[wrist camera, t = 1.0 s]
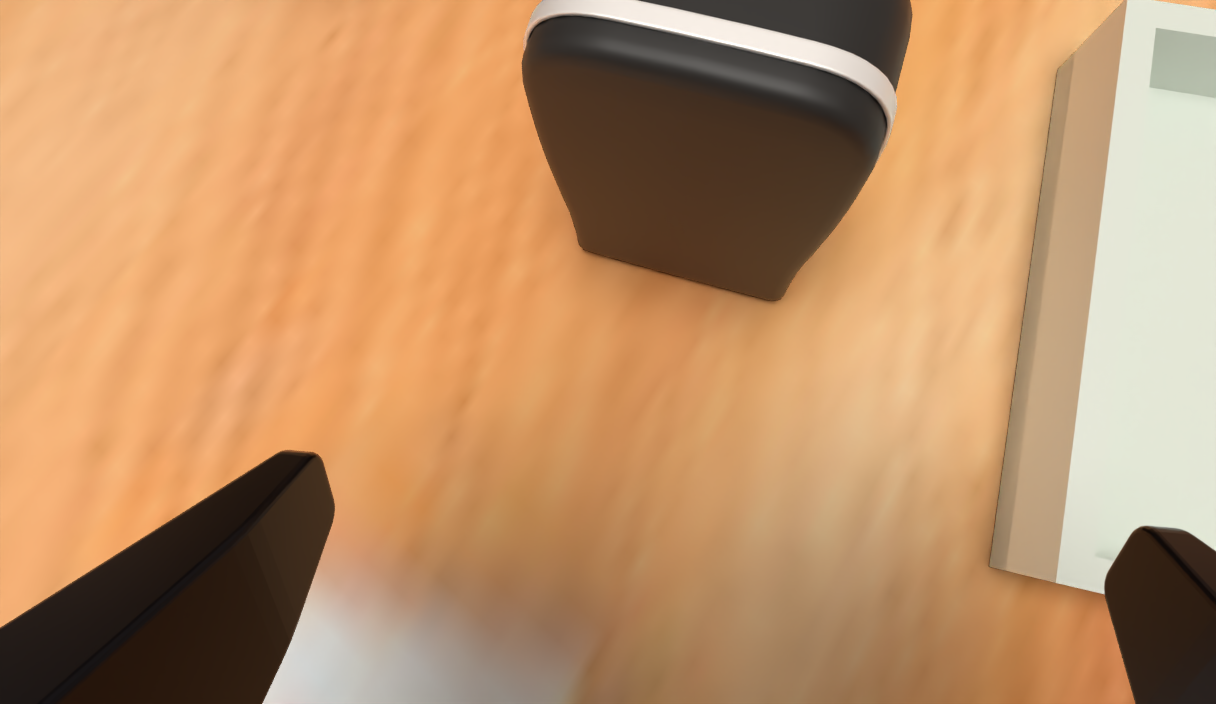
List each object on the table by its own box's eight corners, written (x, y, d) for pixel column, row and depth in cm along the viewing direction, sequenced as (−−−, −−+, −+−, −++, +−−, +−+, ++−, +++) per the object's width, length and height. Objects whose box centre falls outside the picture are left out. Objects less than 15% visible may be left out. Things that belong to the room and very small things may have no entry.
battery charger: (817, 195, 23) (971, -85, 12) (786, 309, 22) (918, 130, 11) (604, 142, 24) (557, -168, 12) (569, 250, 23) (486, 27, 12)
